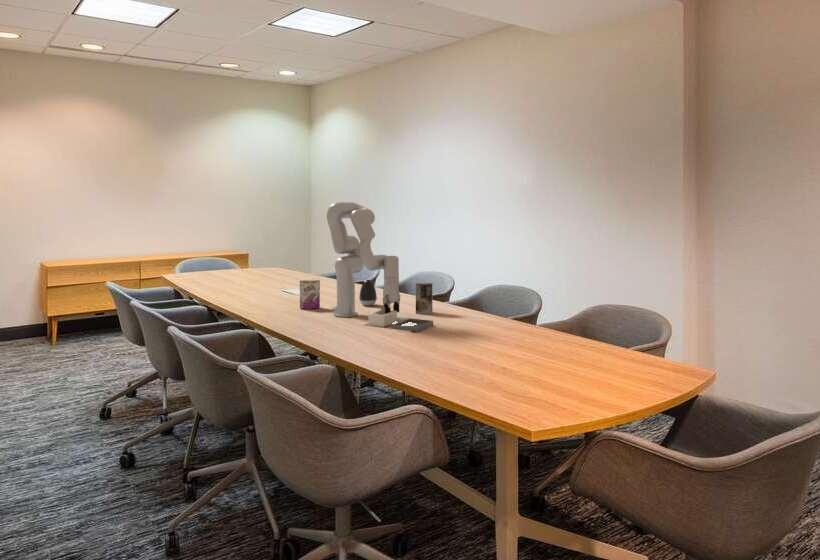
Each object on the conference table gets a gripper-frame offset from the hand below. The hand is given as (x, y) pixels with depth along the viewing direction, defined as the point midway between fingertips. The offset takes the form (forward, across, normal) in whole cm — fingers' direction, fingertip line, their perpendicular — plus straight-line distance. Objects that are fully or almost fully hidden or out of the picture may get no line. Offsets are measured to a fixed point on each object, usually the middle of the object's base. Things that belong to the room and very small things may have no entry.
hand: (391, 313), depth 310 cm
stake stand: (+4, +9, -1) cm, 10 cm away
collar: (+4, +9, -1) cm, 9 cm away
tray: (+4, +8, +15) cm, 18 cm away
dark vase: (+4, -35, -35) cm, 50 cm away
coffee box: (+4, -29, +4) cm, 30 cm away
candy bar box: (+3, -11, -59) cm, 60 cm away
